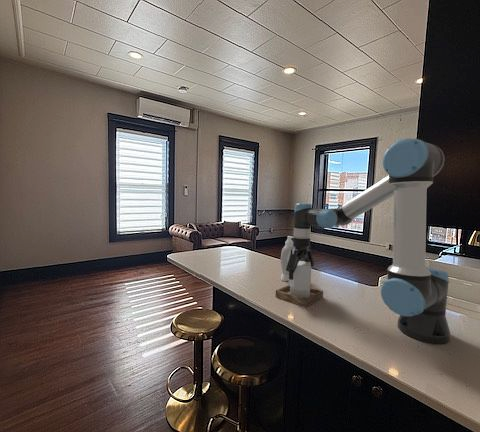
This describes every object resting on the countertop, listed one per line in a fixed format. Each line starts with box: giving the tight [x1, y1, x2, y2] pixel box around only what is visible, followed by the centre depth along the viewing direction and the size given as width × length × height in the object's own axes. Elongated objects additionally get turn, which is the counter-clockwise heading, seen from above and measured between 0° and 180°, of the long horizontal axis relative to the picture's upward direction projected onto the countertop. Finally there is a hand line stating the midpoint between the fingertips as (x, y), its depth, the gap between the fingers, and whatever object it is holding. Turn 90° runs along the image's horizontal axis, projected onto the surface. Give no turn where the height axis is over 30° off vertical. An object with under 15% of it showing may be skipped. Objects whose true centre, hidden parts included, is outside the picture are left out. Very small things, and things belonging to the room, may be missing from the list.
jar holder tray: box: [275, 284, 324, 308], centre depth 122 cm, size 16×16×3 cm
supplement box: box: [290, 260, 312, 299], centre depth 121 cm, size 9×9×15 cm
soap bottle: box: [280, 235, 295, 282], centre depth 145 cm, size 13×8×24 cm, turn 130°
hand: (299, 282), depth 121 cm, fingers open, 13 cm apart
